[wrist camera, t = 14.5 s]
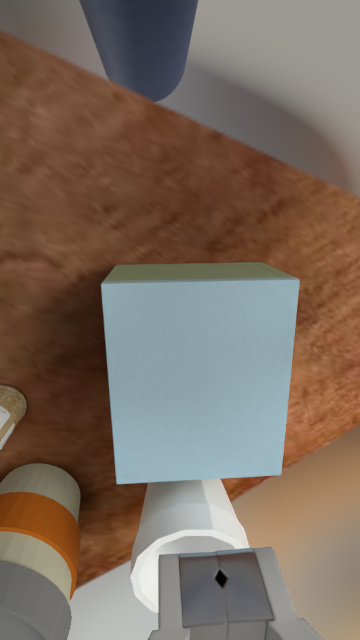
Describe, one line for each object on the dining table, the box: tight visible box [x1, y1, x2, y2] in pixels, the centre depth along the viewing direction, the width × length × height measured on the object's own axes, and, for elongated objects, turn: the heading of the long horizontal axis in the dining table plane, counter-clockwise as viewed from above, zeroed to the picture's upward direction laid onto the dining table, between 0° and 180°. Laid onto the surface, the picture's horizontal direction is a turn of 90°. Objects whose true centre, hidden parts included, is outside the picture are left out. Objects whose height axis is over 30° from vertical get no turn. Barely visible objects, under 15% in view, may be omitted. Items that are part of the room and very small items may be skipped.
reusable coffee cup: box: [0, 463, 81, 640], centre depth 31 cm, size 13×13×15 cm
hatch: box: [101, 278, 300, 484], centre depth 26 cm, size 17×14×1 cm
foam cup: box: [130, 479, 249, 613], centre depth 32 cm, size 10×9×13 cm
